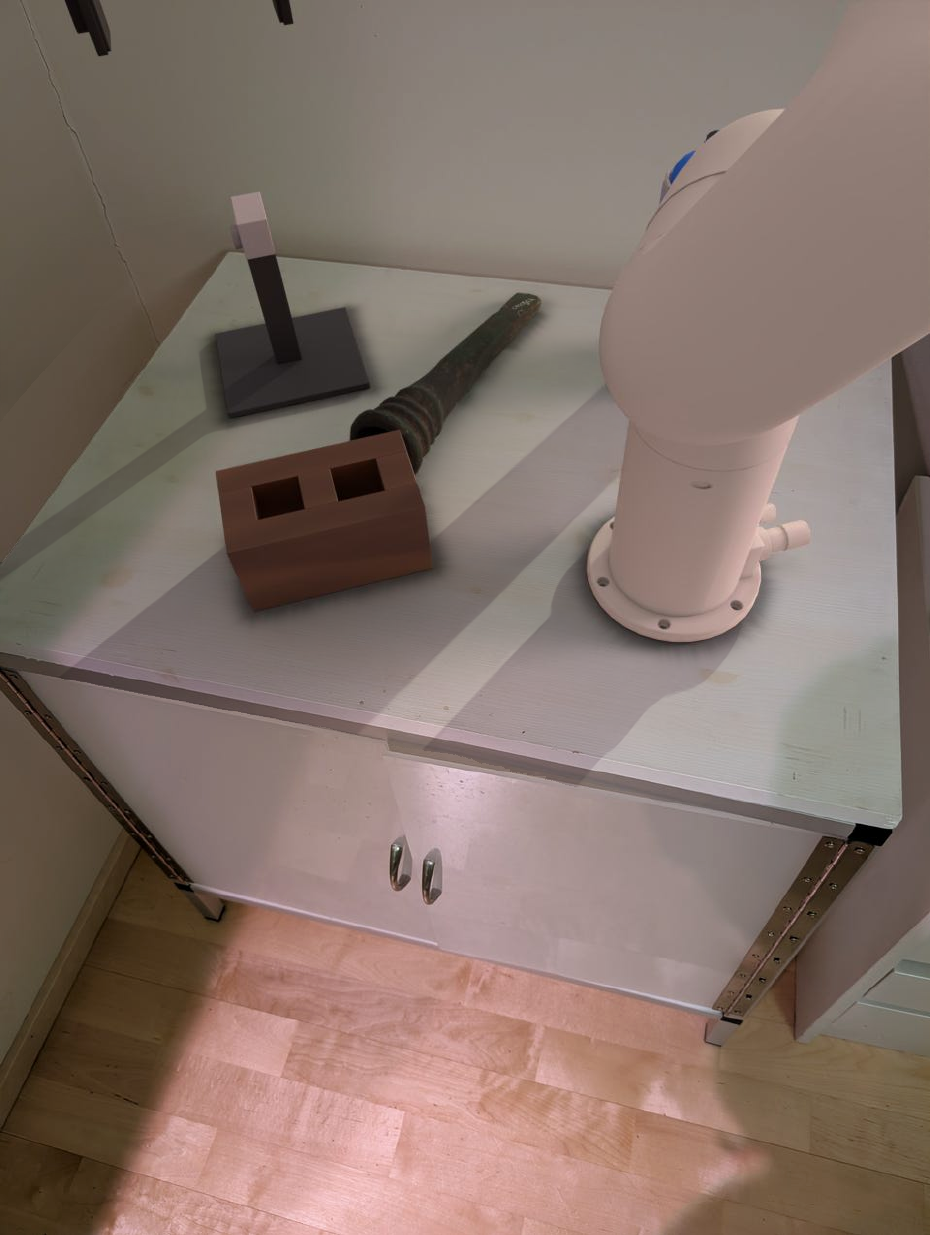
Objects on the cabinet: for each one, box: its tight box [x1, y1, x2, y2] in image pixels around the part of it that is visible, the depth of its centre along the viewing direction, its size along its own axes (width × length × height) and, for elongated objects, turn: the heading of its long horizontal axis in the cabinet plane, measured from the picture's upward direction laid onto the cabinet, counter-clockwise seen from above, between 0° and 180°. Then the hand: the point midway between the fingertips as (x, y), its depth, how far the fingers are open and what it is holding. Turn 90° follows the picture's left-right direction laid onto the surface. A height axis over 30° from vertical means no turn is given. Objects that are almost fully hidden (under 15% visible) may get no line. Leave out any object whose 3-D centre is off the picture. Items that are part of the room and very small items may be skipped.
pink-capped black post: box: [229, 191, 302, 364], centre depth 73 cm, size 3×4×14 cm
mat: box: [214, 306, 371, 419], centre depth 79 cm, size 13×12×1 cm
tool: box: [349, 292, 542, 476], centre depth 73 cm, size 28×6×7 cm, turn 147°
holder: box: [215, 430, 434, 613], centre depth 63 cm, size 8×14×7 cm, turn 105°
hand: (195, 30), depth 45 cm, fingers open, 9 cm apart
